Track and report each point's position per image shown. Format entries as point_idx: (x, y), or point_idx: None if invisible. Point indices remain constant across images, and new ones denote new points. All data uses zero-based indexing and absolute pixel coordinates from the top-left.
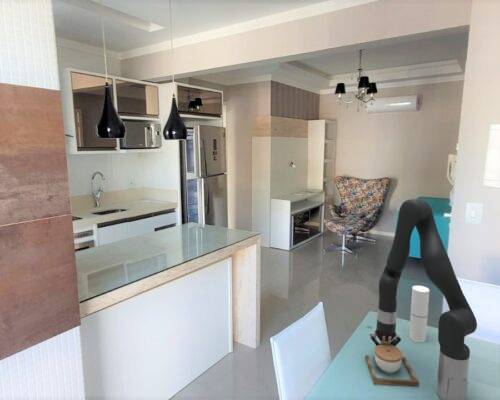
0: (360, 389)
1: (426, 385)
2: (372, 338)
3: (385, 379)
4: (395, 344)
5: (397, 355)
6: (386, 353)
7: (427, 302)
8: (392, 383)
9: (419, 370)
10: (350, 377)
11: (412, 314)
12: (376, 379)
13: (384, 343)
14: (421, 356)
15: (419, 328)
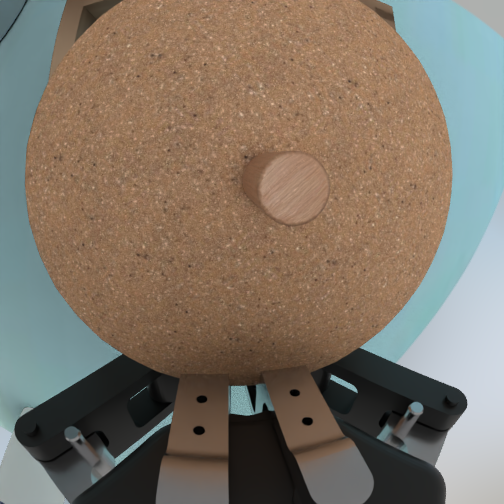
0: (436, 15)
1: (34, 41)
2: (455, 396)
3: None
4: (102, 380)
5: (124, 52)
6: (329, 107)
7: None
8: None
9: (16, 186)
10: (467, 102)
11: None
12: (381, 3)
13: (275, 384)
14: (10, 325)
15: (20, 462)
